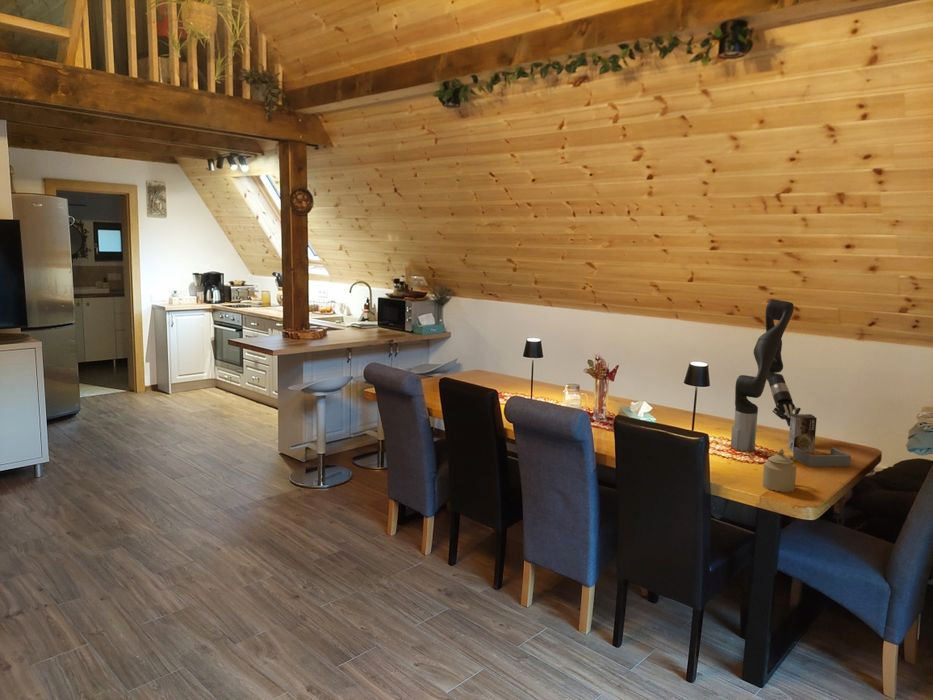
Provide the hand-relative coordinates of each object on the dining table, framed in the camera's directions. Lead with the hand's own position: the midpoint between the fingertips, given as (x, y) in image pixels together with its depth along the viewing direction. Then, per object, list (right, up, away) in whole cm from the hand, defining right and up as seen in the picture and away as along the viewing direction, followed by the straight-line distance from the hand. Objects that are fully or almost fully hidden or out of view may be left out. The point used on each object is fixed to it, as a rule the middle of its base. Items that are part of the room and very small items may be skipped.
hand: (792, 426), depth 304 cm
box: (+1, -12, -24) cm, 27 cm away
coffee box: (0, -10, -7) cm, 13 cm away
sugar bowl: (-32, -16, -53) cm, 64 cm away
